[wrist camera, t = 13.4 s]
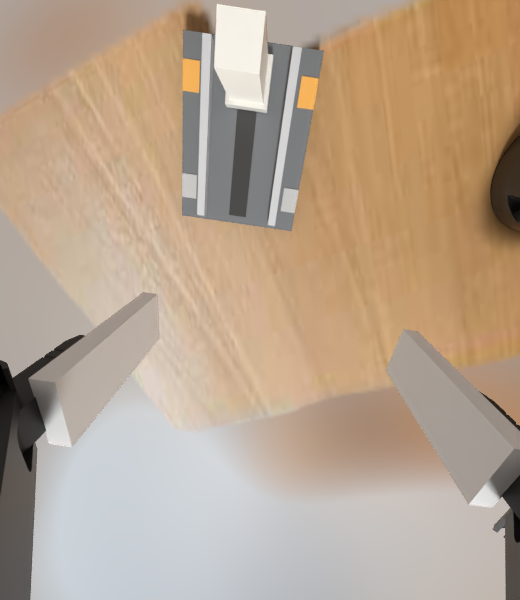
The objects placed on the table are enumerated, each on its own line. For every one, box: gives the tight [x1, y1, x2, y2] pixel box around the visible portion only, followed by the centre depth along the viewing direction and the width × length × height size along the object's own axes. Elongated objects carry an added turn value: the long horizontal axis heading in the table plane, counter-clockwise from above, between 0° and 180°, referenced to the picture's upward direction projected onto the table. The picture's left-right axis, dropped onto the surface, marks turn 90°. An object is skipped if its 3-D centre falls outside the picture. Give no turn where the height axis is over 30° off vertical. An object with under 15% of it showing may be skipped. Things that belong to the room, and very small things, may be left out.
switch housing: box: [182, 30, 324, 231], centre depth 33 cm, size 16×20×4 cm
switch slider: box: [214, 4, 273, 113], centre depth 25 cm, size 5×5×9 cm
